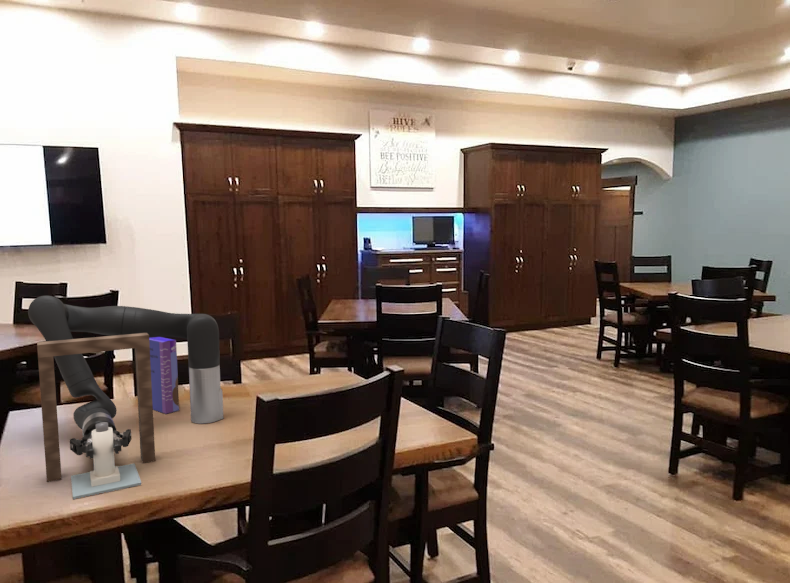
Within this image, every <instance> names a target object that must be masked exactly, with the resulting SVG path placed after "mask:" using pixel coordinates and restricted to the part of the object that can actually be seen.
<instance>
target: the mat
mask: <svg viewBox="0 0 790 583" xmlns="http://www.w3.org/2000/svg"><path fill="white" fill-rule="evenodd" d="M117 466H118V469H119V473H120V481H117V482H113V483H108V484H103V485H98V486H93V487H92V486H91V480H90V471H89V472H83V473H78V474H73V475H72V474H71V476H70V481H71V482H70V483H71V491H72V492H71V494H72V500H77V499H76V498H78V499H82V498H81V497H83V498H86V497H85V496H88V497H91V496H90V495H92V496H96V495H95V494H97V495H100V494H99V493H102V494H105V493H104V492H106V493H109V492H110V493H111V492H115V490H116V491H120V490H125V489H130V488H134V487H138V485H139V486H142V485H141V484H142V480H141V477H140V474H139V472H138V469H137V467H136V464H135V463H129V464H124V465H117ZM129 487H130V488H129Z"/></svg>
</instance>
